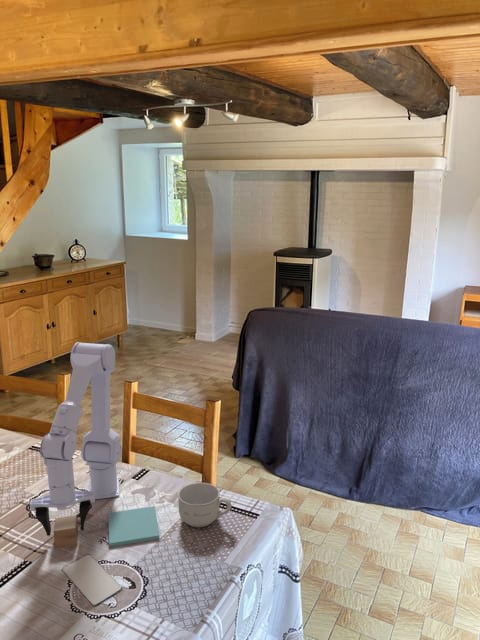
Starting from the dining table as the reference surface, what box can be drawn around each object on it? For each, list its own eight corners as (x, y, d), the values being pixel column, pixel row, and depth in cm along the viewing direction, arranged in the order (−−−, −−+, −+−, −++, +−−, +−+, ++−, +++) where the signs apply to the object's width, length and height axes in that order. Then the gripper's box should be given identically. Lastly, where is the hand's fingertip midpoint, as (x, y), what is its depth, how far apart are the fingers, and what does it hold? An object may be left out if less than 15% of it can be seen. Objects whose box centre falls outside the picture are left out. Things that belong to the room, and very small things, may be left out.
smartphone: (94, 606, 105) (60, 568, 116) (94, 609, 105) (61, 570, 116) (123, 588, 110) (88, 553, 120) (123, 590, 110) (89, 555, 120)
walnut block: (57, 535, 127) (55, 518, 125) (78, 532, 128) (76, 515, 127) (55, 549, 122) (53, 531, 121) (77, 545, 123) (75, 527, 122)
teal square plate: (108, 516, 134) (108, 512, 134) (154, 509, 137) (154, 506, 137) (109, 546, 123) (109, 543, 122) (159, 538, 126) (159, 535, 125)
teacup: (170, 524, 131) (169, 497, 129) (193, 502, 140) (192, 476, 138) (217, 542, 125) (217, 514, 122) (238, 517, 134) (238, 490, 132)
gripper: (26, 495, 115) (31, 546, 119) (93, 486, 119) (96, 536, 122) (30, 478, 122) (35, 527, 125) (93, 470, 125) (96, 518, 129)
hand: (65, 530), depth 124 cm, fingers open, 7 cm apart
